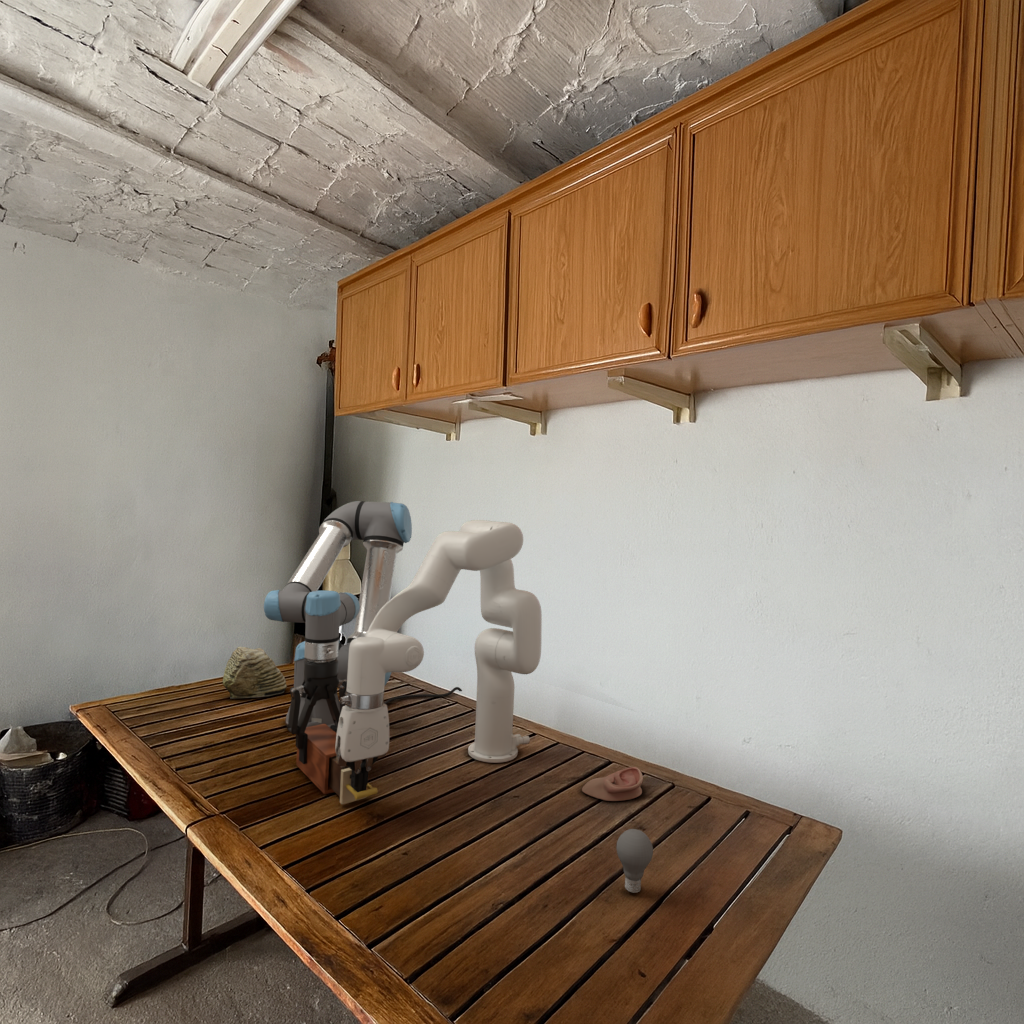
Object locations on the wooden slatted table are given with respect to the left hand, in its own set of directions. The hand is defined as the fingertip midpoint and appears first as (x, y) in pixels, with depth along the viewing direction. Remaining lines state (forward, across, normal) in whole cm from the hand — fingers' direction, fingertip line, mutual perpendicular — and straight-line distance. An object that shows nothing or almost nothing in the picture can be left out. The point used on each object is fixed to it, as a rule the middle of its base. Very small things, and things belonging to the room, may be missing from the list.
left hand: (318, 757), depth 146 cm
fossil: (+2, +6, +63) cm, 63 cm away
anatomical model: (+4, +49, -47) cm, 68 cm away
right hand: (-1, -1, -22) cm, 23 cm away
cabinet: (+3, 0, -3) cm, 4 cm away
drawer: (+2, 0, -14) cm, 15 cm away
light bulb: (+4, +23, -73) cm, 77 cm away
